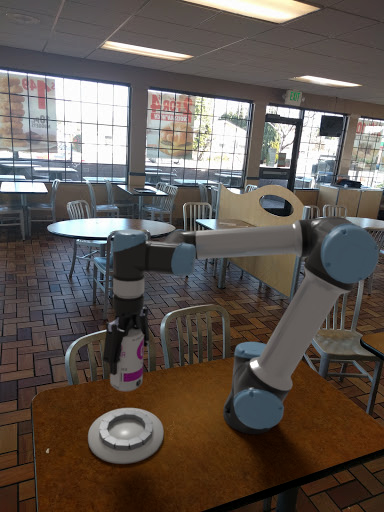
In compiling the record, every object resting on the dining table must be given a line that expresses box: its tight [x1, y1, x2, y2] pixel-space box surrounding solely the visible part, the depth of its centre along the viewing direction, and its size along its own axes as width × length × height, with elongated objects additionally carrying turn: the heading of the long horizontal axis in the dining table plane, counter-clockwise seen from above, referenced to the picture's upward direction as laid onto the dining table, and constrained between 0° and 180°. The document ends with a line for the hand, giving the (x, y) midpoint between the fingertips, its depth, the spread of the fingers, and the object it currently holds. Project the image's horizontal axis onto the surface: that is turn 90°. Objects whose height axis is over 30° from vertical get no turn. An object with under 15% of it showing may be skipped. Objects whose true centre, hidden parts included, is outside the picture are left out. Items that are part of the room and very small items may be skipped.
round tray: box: [87, 407, 164, 465], centre depth 105 cm, size 20×20×3 cm
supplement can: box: [110, 328, 144, 392], centre depth 99 cm, size 8×8×15 cm
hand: (126, 375), depth 101 cm, fingers closed on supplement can, 8 cm apart
